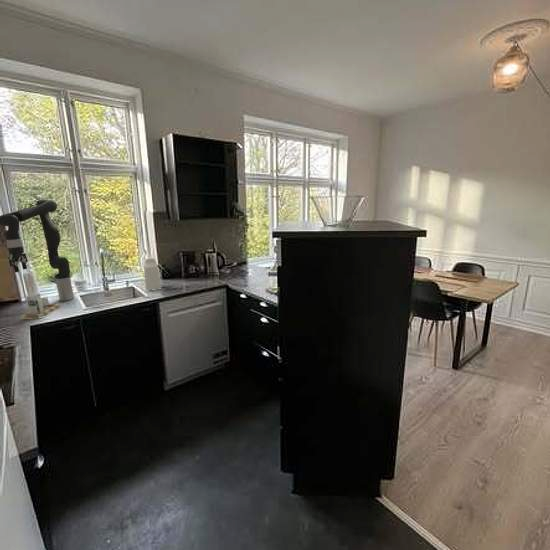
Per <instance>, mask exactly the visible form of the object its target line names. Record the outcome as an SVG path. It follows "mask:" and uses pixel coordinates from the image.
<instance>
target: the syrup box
mask: <svg viewBox="0 0 550 550" xmlns="http://www.w3.org/2000/svg"><path fill="white" fill-rule="evenodd" d="M41 298H42V297H41V293H31V294H28V295H26V296H25V299H26V302H27V303H26V304H27V307H28V310H29V311H30V315H31V314H40V313H42V312H44V310H43V306H42V301H41ZM29 311H28V312H29Z"/></svg>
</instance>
